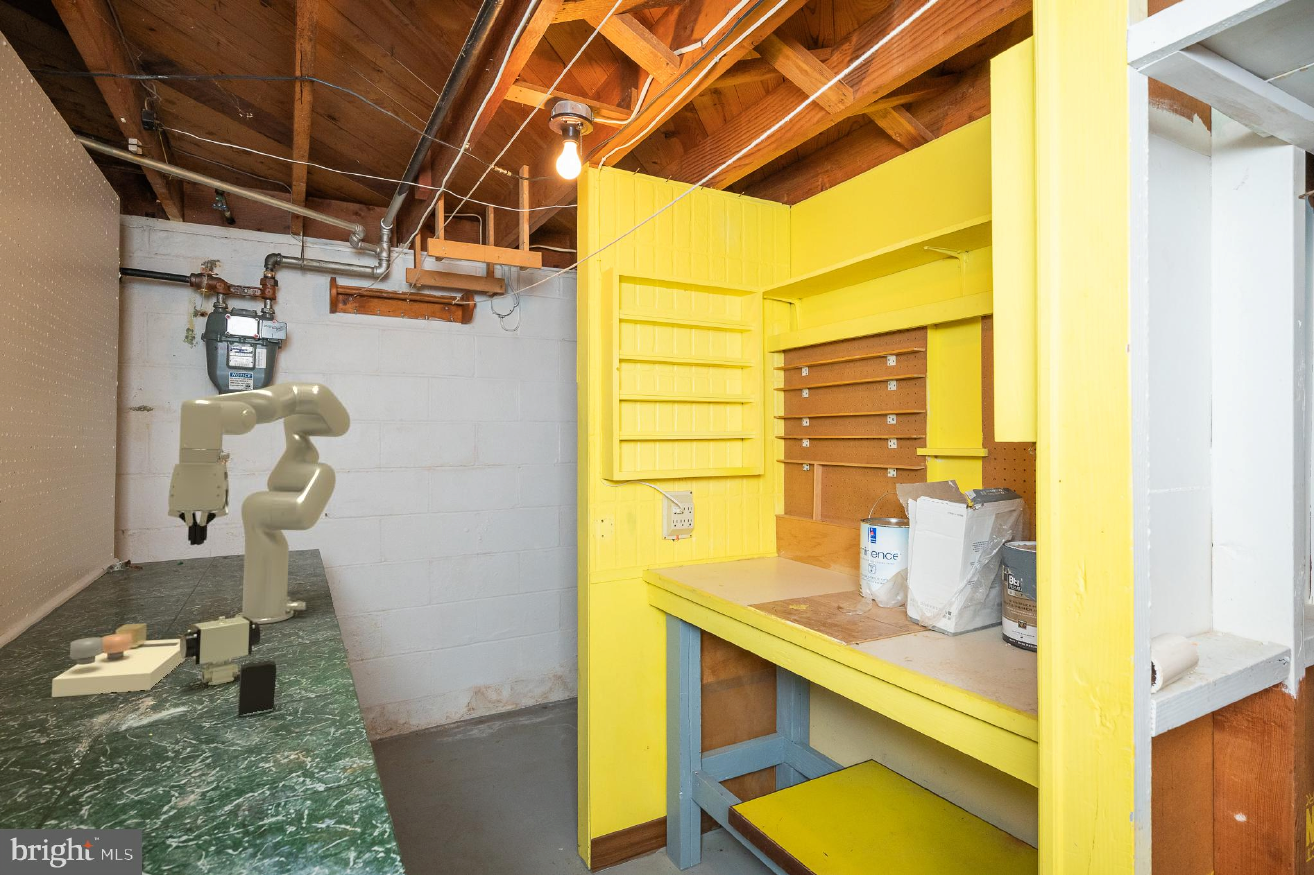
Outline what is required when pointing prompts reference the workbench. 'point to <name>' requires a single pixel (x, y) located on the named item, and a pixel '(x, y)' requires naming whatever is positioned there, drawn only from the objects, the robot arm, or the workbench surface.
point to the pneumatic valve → (219, 646)
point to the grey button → (86, 649)
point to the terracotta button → (116, 645)
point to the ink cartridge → (257, 687)
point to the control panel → (121, 670)
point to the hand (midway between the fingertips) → (197, 544)
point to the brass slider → (134, 633)
